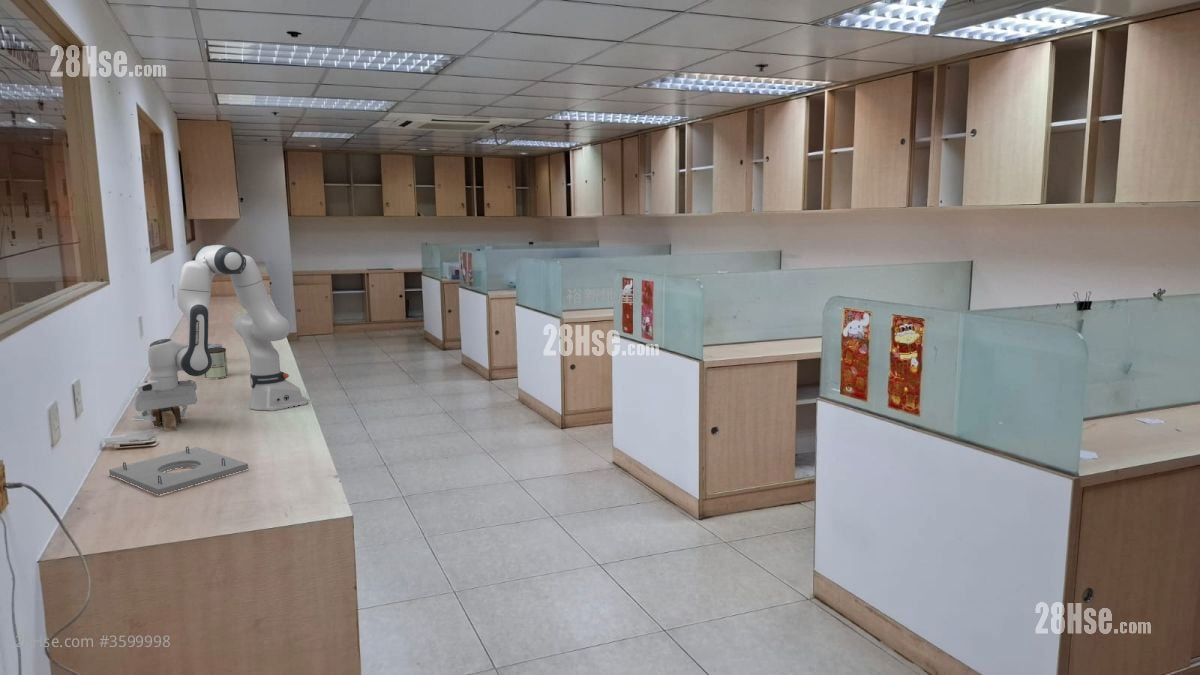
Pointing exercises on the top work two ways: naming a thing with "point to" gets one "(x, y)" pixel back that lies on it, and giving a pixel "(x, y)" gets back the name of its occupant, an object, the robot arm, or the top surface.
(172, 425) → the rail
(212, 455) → the mounting panel
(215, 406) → the top surface
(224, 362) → the coffee can
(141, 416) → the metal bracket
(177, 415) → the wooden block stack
